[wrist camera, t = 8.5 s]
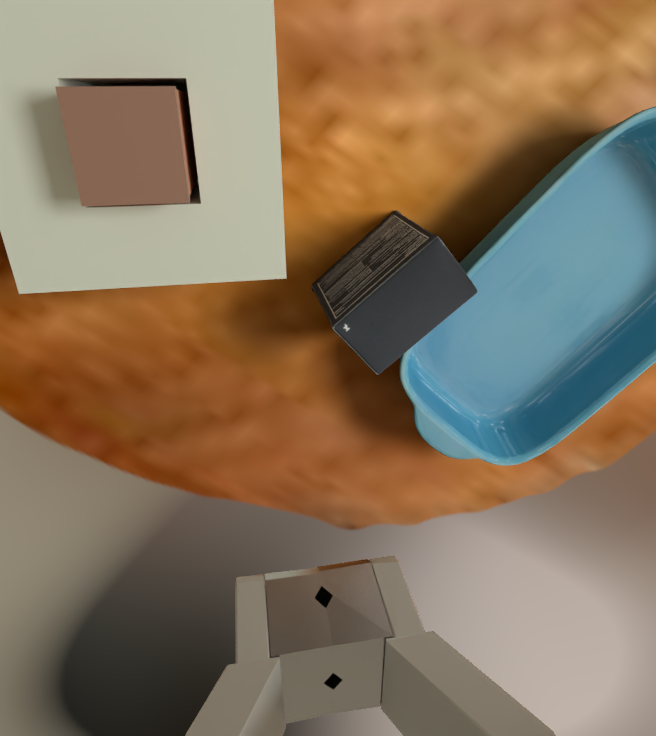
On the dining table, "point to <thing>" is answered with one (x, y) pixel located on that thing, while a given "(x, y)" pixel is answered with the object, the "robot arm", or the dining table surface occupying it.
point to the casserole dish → (548, 308)
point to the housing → (210, 134)
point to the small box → (392, 290)
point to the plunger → (129, 143)
